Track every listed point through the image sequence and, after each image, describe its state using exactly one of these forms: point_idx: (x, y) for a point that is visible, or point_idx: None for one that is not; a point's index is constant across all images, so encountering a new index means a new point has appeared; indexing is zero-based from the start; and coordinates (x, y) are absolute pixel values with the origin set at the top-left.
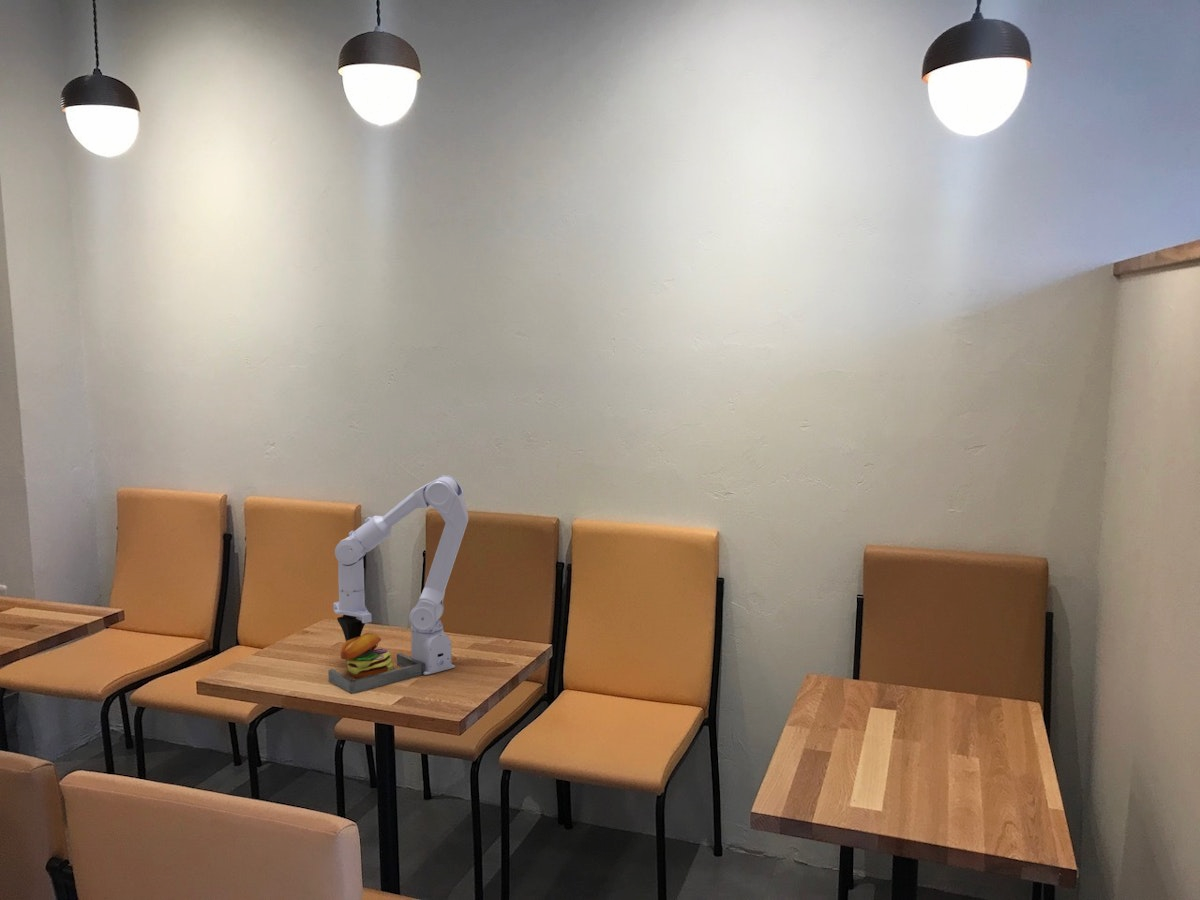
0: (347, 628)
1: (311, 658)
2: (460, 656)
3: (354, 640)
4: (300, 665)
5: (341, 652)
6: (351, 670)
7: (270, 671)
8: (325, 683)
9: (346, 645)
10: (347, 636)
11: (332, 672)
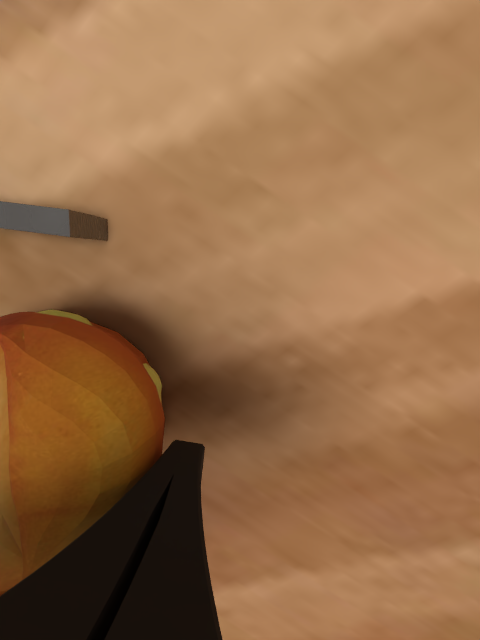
0: (16, 589)
1: (441, 350)
2: None
3: (13, 472)
4: (403, 258)
5: (52, 331)
6: (41, 311)
7: (469, 81)
8: (89, 191)
9: (7, 386)
10: (139, 501)
11: (21, 204)
